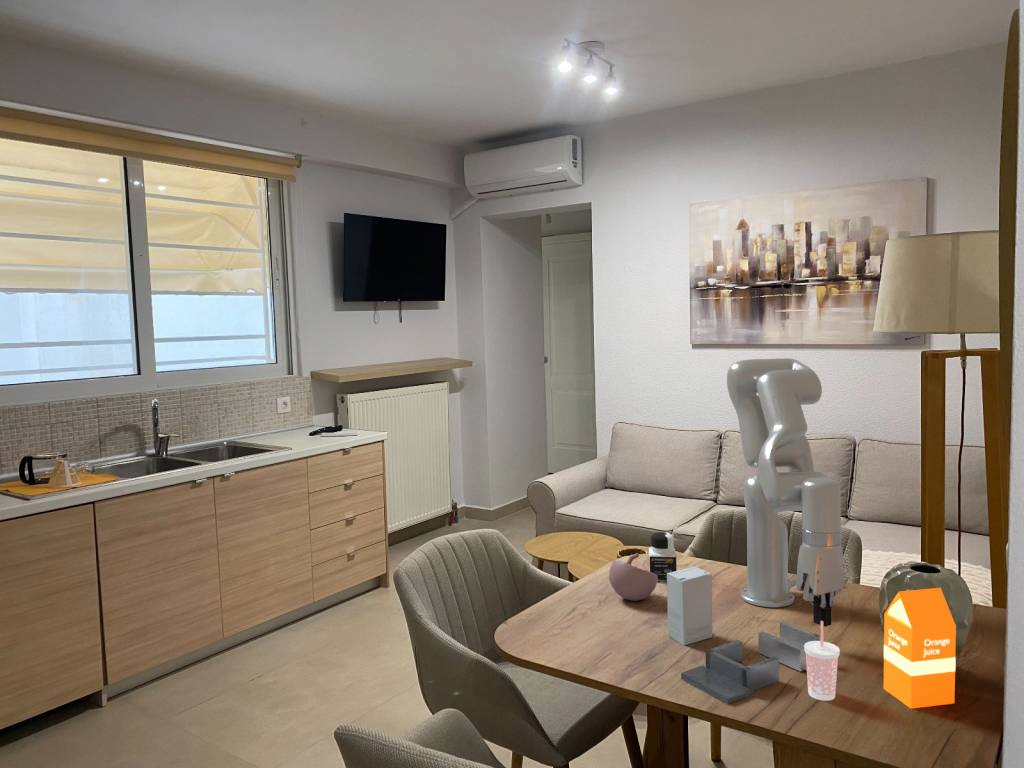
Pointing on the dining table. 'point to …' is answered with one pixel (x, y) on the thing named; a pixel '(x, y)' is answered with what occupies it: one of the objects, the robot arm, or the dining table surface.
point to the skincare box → (689, 605)
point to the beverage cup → (821, 668)
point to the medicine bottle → (662, 555)
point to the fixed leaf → (731, 673)
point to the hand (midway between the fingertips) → (822, 623)
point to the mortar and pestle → (631, 580)
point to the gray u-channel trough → (787, 645)
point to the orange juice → (920, 649)
